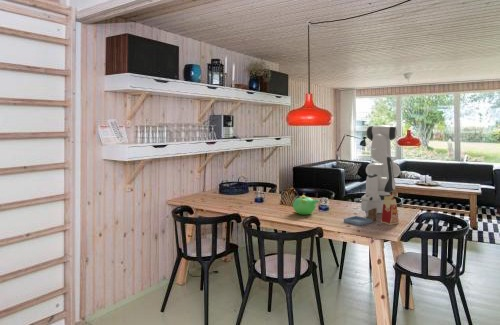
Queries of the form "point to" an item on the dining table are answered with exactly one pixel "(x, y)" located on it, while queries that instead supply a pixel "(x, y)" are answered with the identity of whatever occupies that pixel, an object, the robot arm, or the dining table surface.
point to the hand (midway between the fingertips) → (371, 215)
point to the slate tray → (358, 220)
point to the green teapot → (304, 205)
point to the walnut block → (372, 214)
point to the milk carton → (389, 211)
